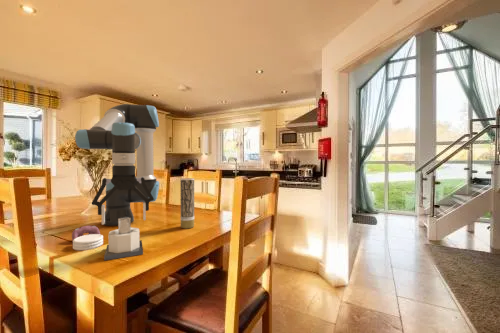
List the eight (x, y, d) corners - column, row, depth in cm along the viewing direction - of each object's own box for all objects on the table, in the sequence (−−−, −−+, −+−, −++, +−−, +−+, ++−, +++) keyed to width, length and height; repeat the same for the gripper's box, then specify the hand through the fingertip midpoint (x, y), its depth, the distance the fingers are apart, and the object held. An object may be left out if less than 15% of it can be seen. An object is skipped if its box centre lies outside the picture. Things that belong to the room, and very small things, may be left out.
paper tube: (190, 229, 116) (190, 179, 115) (178, 228, 117) (178, 178, 116) (196, 225, 122) (196, 178, 122) (184, 224, 124) (184, 177, 123)
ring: (110, 245, 90) (110, 229, 89) (138, 241, 94) (138, 226, 94) (107, 254, 81) (107, 237, 81) (139, 249, 85) (139, 233, 85)
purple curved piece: (99, 240, 104) (97, 225, 106) (101, 238, 101) (99, 222, 103) (71, 246, 97) (70, 229, 99) (73, 243, 94) (71, 226, 96)
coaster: (108, 241, 98) (108, 233, 98) (93, 251, 88) (93, 241, 88) (84, 242, 98) (84, 233, 98) (66, 251, 88) (66, 242, 88)
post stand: (107, 248, 90) (107, 216, 90) (141, 243, 95) (141, 213, 95) (104, 260, 79) (103, 224, 79) (142, 254, 85) (142, 220, 84)
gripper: (81, 165, 77) (82, 228, 78) (160, 165, 89) (161, 219, 90) (85, 164, 84) (86, 222, 85) (158, 164, 96) (159, 215, 96)
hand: (124, 221), depth 87 cm, fingers open, 13 cm apart
